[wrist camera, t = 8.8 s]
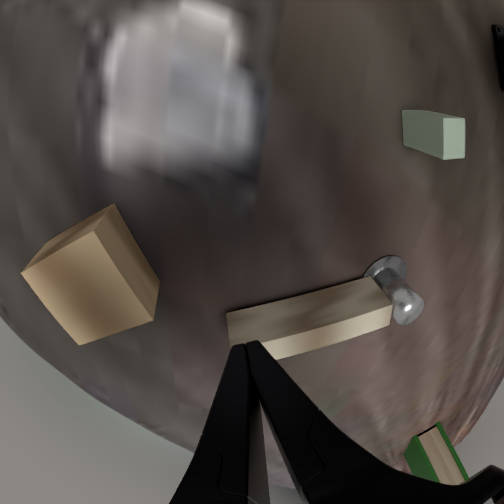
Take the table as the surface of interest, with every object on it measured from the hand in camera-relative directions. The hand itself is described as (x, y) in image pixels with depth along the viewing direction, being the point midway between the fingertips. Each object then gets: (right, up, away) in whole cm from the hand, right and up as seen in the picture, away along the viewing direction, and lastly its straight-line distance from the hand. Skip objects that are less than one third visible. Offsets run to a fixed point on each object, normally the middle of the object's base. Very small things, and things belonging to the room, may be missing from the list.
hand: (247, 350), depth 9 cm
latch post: (+11, +11, +7) cm, 17 cm away
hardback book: (+43, -45, +44) cm, 77 cm away
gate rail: (+4, -1, +12) cm, 13 cm away
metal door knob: (+11, +1, +13) cm, 16 cm away
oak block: (-10, +3, +8) cm, 13 cm away
